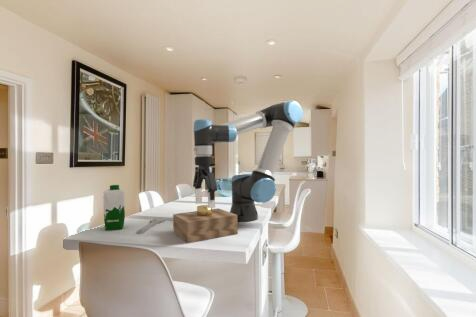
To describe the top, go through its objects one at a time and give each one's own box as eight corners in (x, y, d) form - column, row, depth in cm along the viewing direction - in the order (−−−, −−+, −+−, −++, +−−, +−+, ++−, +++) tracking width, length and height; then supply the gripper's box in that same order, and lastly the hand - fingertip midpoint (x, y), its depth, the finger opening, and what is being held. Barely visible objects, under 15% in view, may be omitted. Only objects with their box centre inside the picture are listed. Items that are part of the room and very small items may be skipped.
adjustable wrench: (141, 235, 120) (141, 231, 120) (127, 234, 121) (127, 230, 121) (166, 221, 144) (166, 217, 144) (155, 220, 145) (154, 217, 145)
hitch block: (218, 225, 132) (218, 208, 132) (237, 233, 117) (237, 215, 117) (173, 232, 121) (173, 214, 121) (188, 243, 106) (187, 222, 106)
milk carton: (126, 225, 136) (125, 184, 136) (123, 229, 127) (122, 186, 127) (106, 226, 134) (105, 185, 133) (102, 231, 125) (101, 187, 125)
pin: (208, 229, 124) (208, 204, 123) (215, 232, 118) (214, 206, 118) (195, 231, 120) (194, 206, 120) (201, 235, 115) (200, 208, 115)
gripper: (185, 156, 128) (186, 202, 128) (207, 156, 106) (209, 211, 106) (200, 155, 131) (201, 200, 132) (224, 155, 110) (226, 208, 110)
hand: (204, 205), depth 119 cm, fingers open, 13 cm apart
